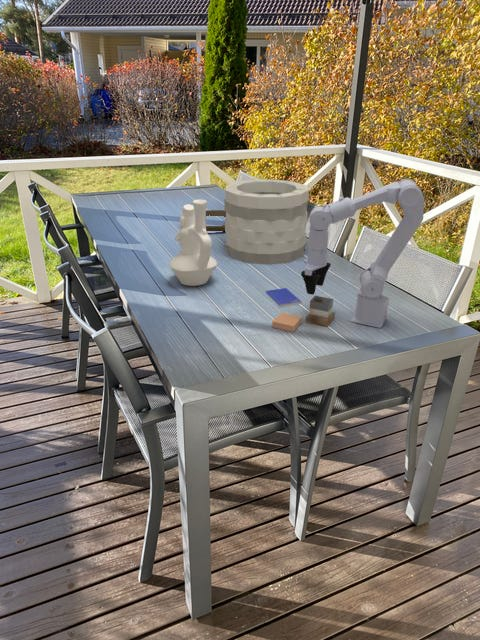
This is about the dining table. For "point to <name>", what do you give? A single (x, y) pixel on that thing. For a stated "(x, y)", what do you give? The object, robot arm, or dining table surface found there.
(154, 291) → the dining table surface
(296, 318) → the stand
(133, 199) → the dining table surface
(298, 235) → the storage basket
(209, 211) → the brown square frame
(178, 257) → the double spout vessel
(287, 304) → the hard drive
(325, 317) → the block
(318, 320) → the stand
